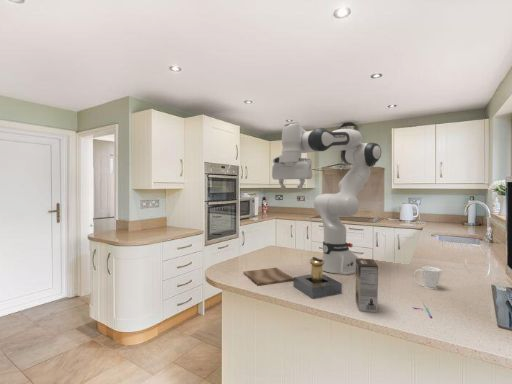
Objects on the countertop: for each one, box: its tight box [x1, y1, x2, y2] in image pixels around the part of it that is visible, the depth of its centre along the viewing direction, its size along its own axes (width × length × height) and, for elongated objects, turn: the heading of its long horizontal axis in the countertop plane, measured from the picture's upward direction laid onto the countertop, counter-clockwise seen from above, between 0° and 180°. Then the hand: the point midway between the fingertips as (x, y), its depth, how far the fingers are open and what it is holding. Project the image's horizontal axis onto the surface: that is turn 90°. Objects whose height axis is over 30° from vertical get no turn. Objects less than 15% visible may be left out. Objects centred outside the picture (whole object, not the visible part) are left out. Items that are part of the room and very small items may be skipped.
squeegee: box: [411, 307, 433, 319], centre depth 99 cm, size 15×1×5 cm
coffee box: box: [354, 258, 379, 313], centre depth 100 cm, size 9×6×16 cm
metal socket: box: [293, 273, 343, 299], centre depth 116 cm, size 14×14×4 cm
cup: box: [413, 266, 442, 290], centre depth 120 cm, size 7×10×8 cm
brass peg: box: [309, 256, 324, 284], centre depth 116 cm, size 6×6×13 cm
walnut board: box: [243, 267, 294, 287], centre depth 131 cm, size 18×18×1 cm
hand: (291, 189), depth 127 cm, fingers open, 8 cm apart
